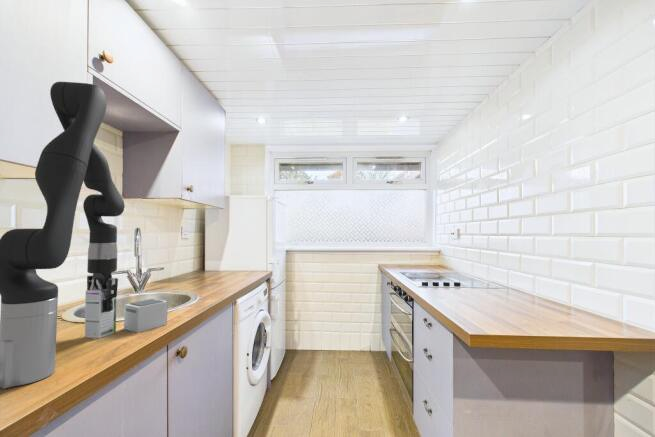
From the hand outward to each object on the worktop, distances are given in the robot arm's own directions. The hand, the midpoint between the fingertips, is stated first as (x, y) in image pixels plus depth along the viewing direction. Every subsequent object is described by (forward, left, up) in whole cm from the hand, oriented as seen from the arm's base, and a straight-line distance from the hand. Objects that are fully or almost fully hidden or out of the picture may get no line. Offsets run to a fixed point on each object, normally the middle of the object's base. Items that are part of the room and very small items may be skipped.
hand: (101, 309), depth 96 cm
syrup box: (0, 0, -8) cm, 8 cm away
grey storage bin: (+12, -4, -8) cm, 15 cm away
